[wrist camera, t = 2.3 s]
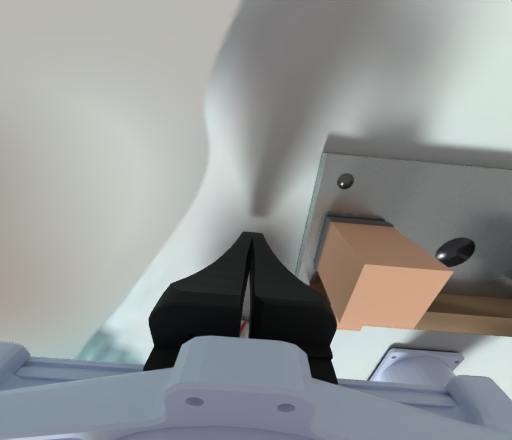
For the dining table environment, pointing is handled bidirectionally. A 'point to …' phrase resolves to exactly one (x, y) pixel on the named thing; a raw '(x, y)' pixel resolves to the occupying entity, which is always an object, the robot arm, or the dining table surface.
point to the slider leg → (376, 274)
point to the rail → (462, 314)
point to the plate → (422, 215)
